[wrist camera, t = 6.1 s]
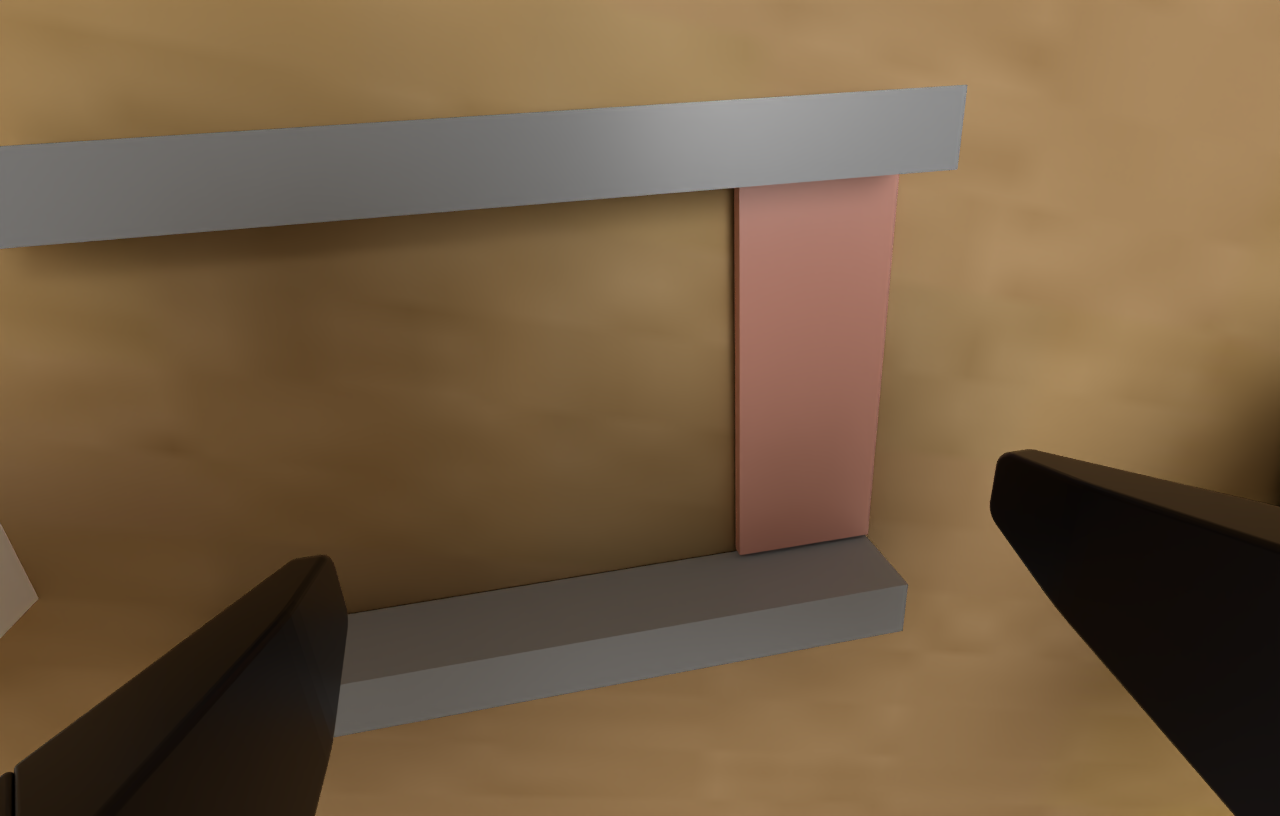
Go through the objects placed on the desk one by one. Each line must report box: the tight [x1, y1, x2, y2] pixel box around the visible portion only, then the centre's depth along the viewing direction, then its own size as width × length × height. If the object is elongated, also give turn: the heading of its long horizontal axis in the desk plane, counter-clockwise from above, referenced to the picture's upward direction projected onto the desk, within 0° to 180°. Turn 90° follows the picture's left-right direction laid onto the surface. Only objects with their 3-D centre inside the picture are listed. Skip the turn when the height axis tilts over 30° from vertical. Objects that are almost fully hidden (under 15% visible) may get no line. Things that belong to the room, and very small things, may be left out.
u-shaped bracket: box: [0, 85, 967, 737], centre depth 12 cm, size 14×10×2 cm
